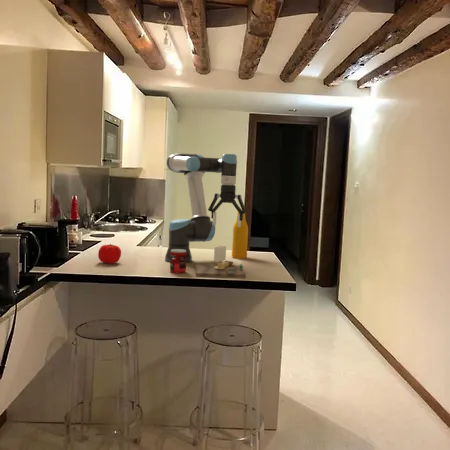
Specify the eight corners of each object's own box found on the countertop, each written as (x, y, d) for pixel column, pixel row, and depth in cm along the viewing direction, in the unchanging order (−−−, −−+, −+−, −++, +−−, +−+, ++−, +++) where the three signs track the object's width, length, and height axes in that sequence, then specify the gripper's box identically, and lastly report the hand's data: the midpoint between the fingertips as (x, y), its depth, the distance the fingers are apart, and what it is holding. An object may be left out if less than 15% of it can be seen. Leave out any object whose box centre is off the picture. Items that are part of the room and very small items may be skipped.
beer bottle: (235, 259, 279) (237, 210, 276) (229, 256, 288) (231, 209, 285) (249, 258, 283) (251, 210, 280) (243, 256, 291) (245, 209, 288)
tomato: (98, 265, 244) (98, 245, 243) (97, 261, 255) (98, 242, 254) (121, 265, 247) (122, 245, 246) (120, 261, 258) (120, 242, 257)
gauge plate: (195, 276, 228) (195, 268, 228) (195, 266, 252) (196, 259, 251) (244, 277, 229) (245, 269, 229) (240, 267, 253) (240, 260, 253)
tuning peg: (211, 268, 239) (212, 247, 237) (223, 264, 251) (224, 244, 249) (220, 270, 236) (221, 248, 235) (232, 266, 248) (233, 245, 247)
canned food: (170, 270, 240) (170, 248, 239) (185, 270, 241) (186, 249, 239) (169, 273, 232) (170, 251, 231) (185, 273, 233) (186, 251, 232)
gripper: (203, 183, 241) (201, 224, 243) (249, 185, 232) (247, 228, 235) (208, 183, 248) (207, 223, 250) (253, 185, 239) (251, 227, 242)
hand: (226, 226), depth 242 cm, fingers open, 13 cm apart
